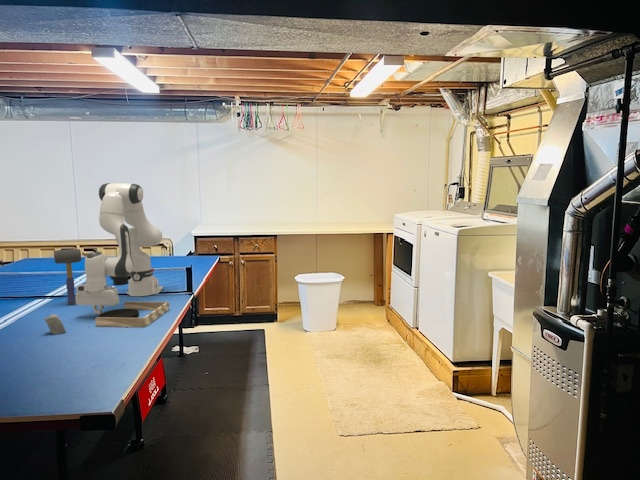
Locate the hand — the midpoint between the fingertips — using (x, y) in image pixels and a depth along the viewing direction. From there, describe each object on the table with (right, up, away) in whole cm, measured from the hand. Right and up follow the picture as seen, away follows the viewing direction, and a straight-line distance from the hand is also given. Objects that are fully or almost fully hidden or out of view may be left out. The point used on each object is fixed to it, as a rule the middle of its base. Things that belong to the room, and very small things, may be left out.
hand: (98, 313), depth 223 cm
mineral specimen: (-8, -5, -22) cm, 24 cm away
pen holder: (-21, +7, +72) cm, 75 cm away
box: (+17, -2, -1) cm, 18 cm away
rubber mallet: (-26, +1, +24) cm, 35 cm away
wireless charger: (+10, -2, -1) cm, 10 cm away
